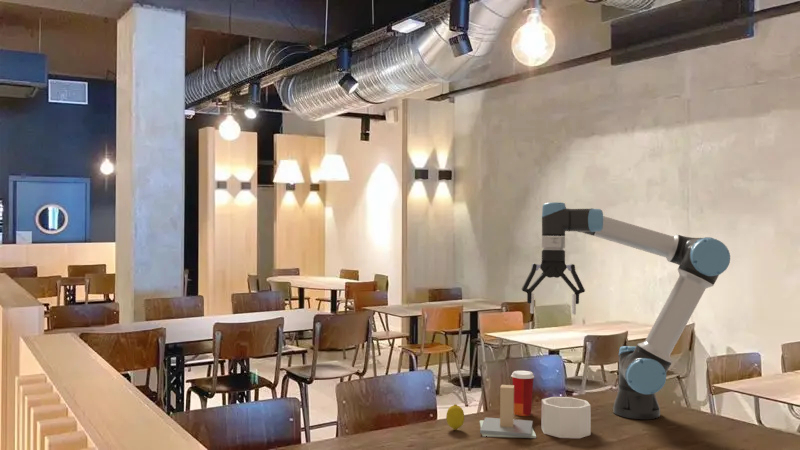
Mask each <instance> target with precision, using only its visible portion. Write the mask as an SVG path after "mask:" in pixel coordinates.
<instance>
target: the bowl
mask: <svg viewBox="0 0 800 450" xmlns="http://www.w3.org/2000/svg"><path fill="white" fill-rule="evenodd" d="M591 406H592V405H591V404H590V403H589V402H588V400H585V399H580V398H576V397H572V396H569V397H568V396H550V397H545V398H542V399H541V412H540V413H541V414H540V415H541V421H540V422H541V425H540V426H541V428H540V429H541V431H542V432H543V434H545V435H548V436H552V437H555V438H559V439H582V438H584V437H585V438H586V437H588V436H591V434H592V433H591V432H592V430H591V429H592V428H591V424H592V423H591V421H592V420H591V419H592V415H591V413H592V412H591V411H592V410H591V409H592V407H591Z"/></svg>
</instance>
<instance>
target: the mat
mask: <svg viewBox="0 0 800 450" xmlns="http://www.w3.org/2000/svg"><path fill="white" fill-rule="evenodd" d="M483 422H484V420H482V419H481V420H479V426H480V428H481V427H482V424H483ZM486 436H487V438H488V437H489V438H521V439H522V438H523V439H537V435H536V432H535V431H534V428H533V427H532V431H531V437H522V436H509V435H495V434H482V433H481V437H485V438H486Z"/></svg>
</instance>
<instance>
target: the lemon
mask: <svg viewBox="0 0 800 450" xmlns="http://www.w3.org/2000/svg"><path fill="white" fill-rule="evenodd" d="M446 411H447V412H446V416H445V418H446V423H447V425H448V426H449V427H450V428H451V429H453V431H457V430H458V429H460V428H461V427H462V426H463V425H464V422H465V412H464V410H463V408H462V407H461V406H460V405H458V404H456V403H455V404H453V405H451V406H450V407H449V408H448V409H447V410H446Z"/></svg>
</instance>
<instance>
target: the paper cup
mask: <svg viewBox="0 0 800 450" xmlns="http://www.w3.org/2000/svg"><path fill="white" fill-rule="evenodd" d="M510 377H512V385H514V416H517V417H518V416H520V417H530V416H531V414H532V405H533V388H534V378H535V375H534V373H533V372H532V371H529V370H514V371H513V372H512V373H511V375H510Z"/></svg>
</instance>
